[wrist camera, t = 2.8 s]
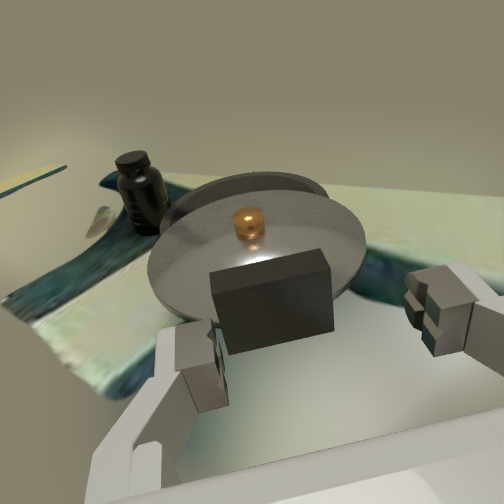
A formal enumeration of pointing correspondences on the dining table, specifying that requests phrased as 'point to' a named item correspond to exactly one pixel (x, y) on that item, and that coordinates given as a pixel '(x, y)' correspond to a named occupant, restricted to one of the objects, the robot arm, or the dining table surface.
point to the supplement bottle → (142, 191)
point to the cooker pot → (236, 192)
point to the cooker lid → (259, 266)
